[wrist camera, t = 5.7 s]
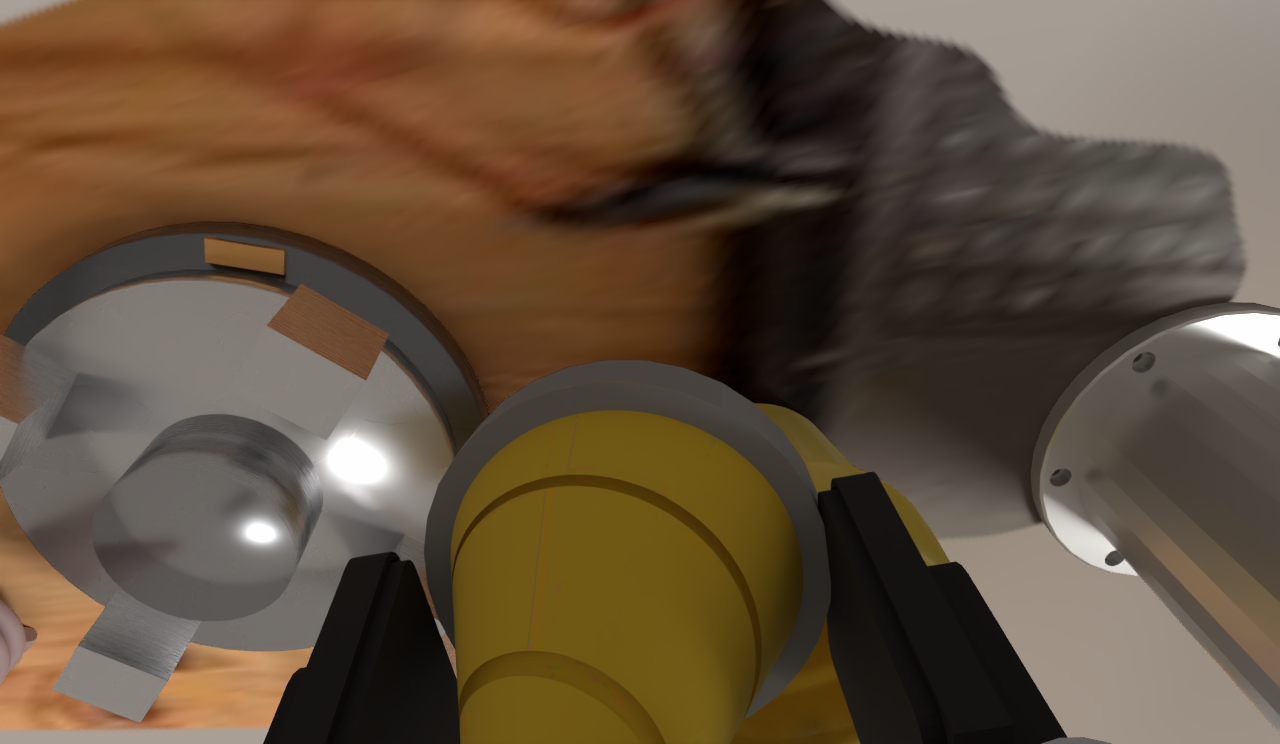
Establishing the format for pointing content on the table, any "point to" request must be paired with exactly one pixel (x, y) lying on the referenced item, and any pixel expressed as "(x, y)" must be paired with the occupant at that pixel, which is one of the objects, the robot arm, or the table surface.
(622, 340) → the table surface
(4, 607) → the coil
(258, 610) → the steel lathe chuck
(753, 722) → the plant pot
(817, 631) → the stepped yellow cone
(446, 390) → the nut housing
